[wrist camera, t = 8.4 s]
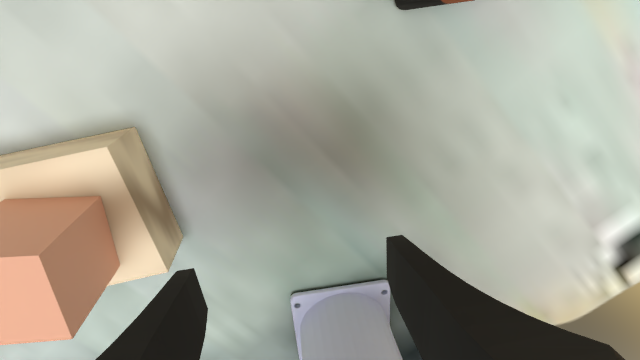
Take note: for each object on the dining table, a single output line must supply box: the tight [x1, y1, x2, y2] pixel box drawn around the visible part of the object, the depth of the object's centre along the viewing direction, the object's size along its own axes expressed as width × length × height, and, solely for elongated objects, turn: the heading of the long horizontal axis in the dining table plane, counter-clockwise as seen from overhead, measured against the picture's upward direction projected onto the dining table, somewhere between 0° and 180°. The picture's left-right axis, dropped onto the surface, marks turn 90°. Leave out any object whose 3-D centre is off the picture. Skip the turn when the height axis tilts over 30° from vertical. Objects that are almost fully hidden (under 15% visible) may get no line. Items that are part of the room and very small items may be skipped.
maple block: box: [0, 127, 183, 286], centre depth 20 cm, size 8×8×4 cm
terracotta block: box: [0, 196, 120, 345], centre depth 16 cm, size 4×4×5 cm
